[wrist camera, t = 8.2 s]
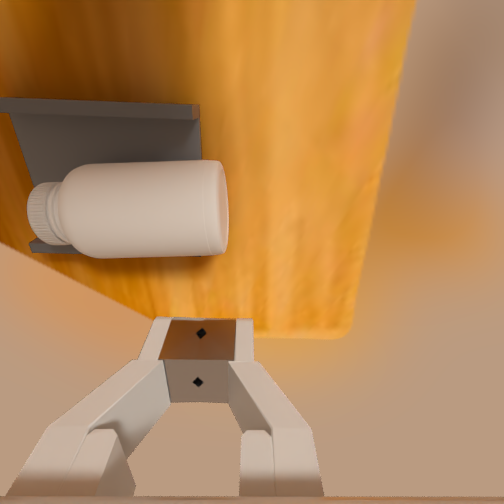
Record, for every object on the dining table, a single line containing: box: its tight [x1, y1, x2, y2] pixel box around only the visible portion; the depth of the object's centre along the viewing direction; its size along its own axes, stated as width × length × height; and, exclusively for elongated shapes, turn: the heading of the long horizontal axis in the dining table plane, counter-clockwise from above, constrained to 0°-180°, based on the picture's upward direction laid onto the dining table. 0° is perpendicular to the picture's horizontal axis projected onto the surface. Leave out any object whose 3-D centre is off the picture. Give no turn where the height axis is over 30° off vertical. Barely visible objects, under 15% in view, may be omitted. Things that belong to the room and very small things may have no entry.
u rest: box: [0, 97, 202, 257], centre depth 25 cm, size 13×16×4 cm
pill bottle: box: [27, 160, 229, 258], centre depth 24 cm, size 8×8×15 cm
